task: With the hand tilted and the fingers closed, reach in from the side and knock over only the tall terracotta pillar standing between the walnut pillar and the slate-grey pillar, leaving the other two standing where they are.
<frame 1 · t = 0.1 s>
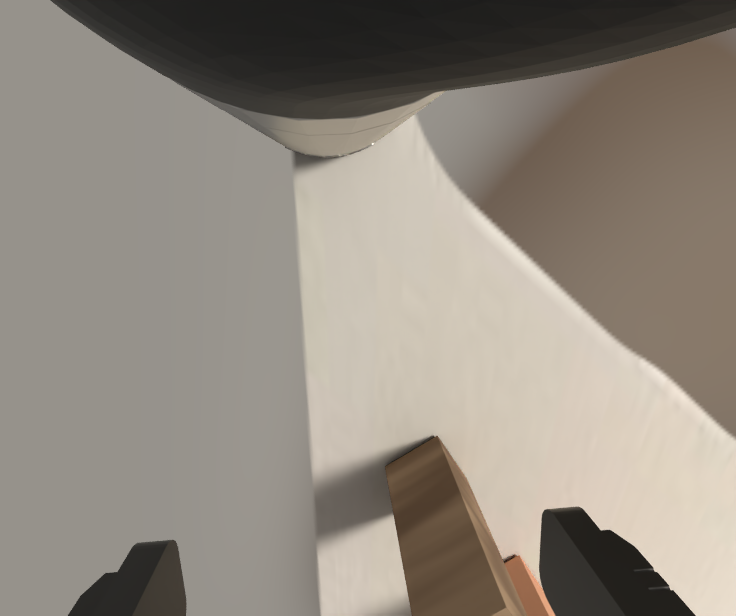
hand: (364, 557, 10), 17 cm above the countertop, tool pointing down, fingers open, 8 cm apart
walnut pillar: (426, 472, 30), on the countertop
terracotta pillar: (507, 585, 33), on the countertop
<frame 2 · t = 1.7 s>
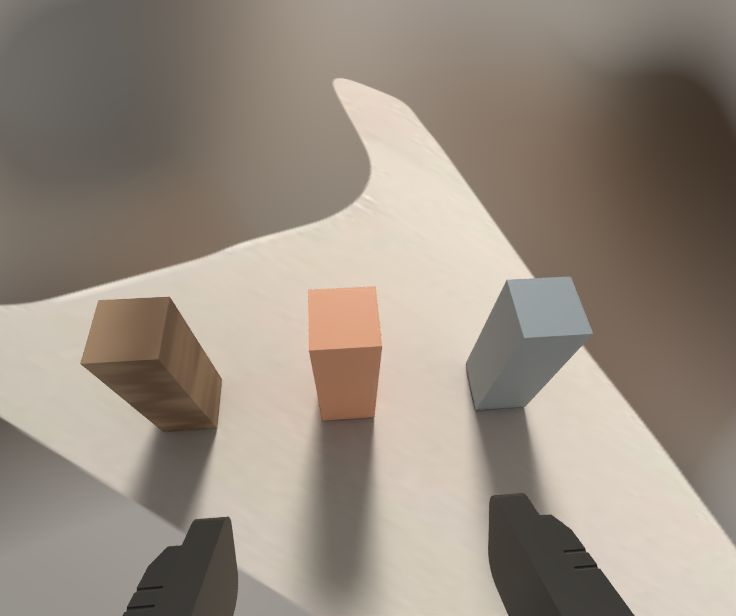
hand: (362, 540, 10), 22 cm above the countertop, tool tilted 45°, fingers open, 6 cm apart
walnut pillar: (193, 404, 35), on the countertop
terracotta pillar: (347, 394, 36), on the countertop
slate pillar: (494, 384, 37), on the countertop
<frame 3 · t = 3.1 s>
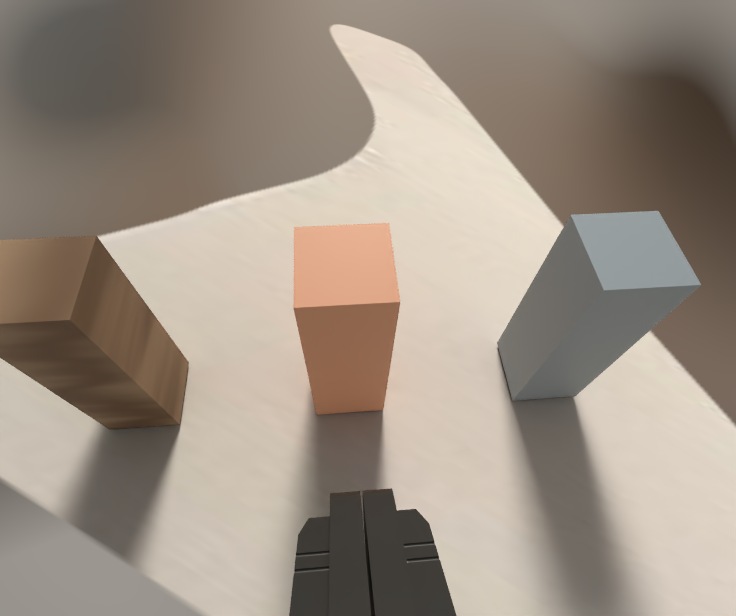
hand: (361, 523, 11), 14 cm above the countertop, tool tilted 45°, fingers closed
walnut pillar: (150, 394, 27), on the countertop
terracotta pillar: (348, 381, 28), on the countertop
slate pillar: (534, 368, 29), on the countertop
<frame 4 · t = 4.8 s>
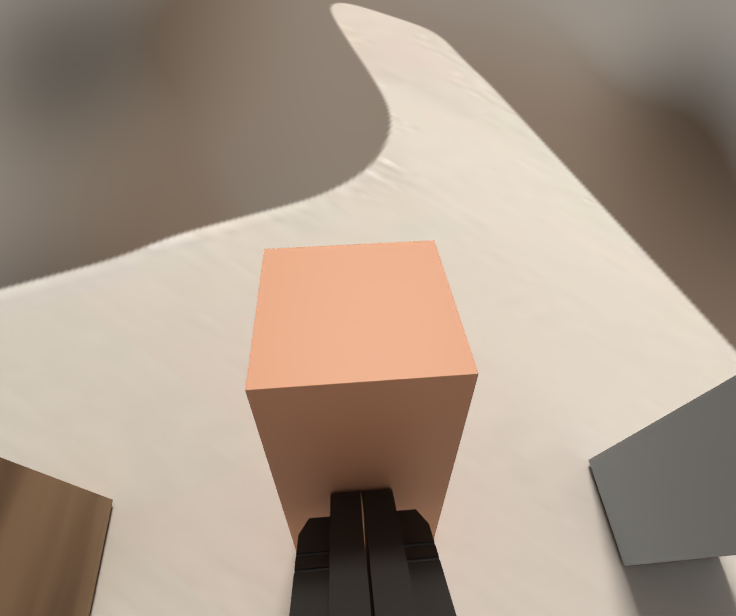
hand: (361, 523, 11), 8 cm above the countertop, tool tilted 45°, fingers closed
walnut pillar: (46, 560, 17), on the countertop
terracotta pillar: (361, 529, 17), on the countertop, tilted 14°
slate pillar: (652, 505, 19), on the countertop
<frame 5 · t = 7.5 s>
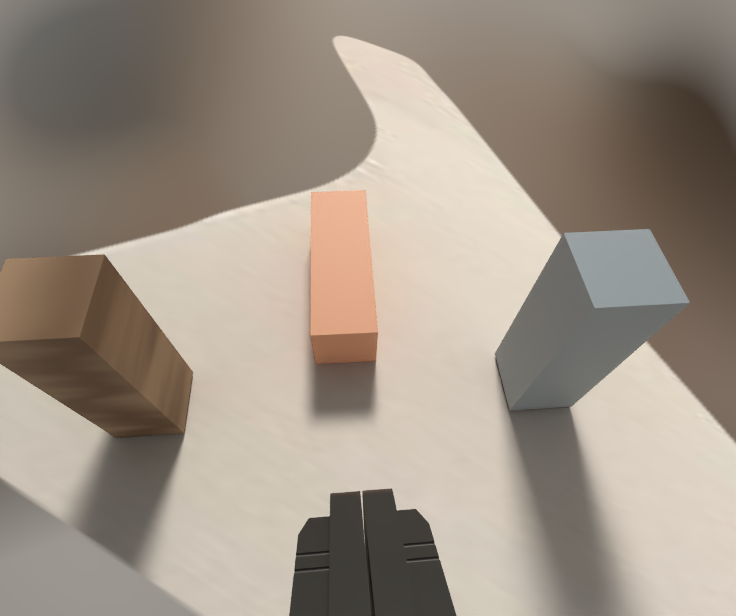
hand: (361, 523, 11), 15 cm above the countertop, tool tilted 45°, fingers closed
walnut pillar: (155, 403, 28), on the countertop
terracotta pillar: (345, 349, 28), point 2 cm above the countertop, tilted 90°
slate pillar: (531, 379, 29), on the countertop
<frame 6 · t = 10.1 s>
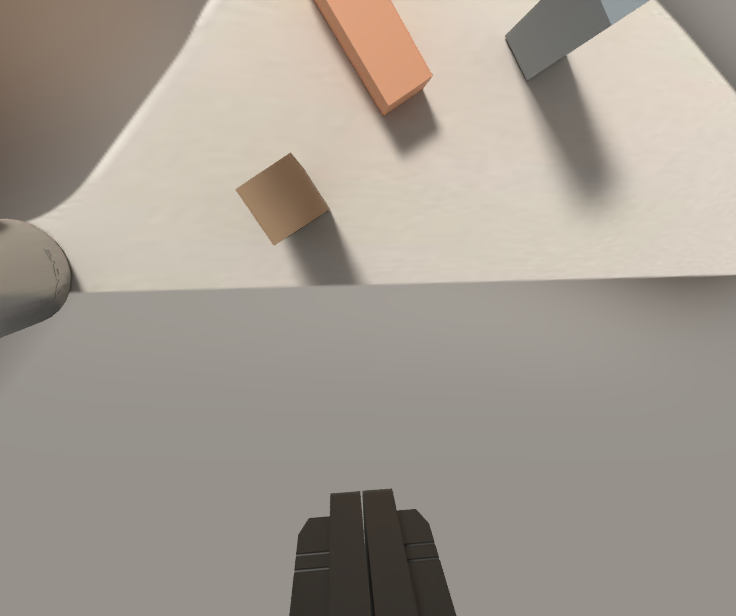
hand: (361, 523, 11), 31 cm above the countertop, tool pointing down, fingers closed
walnut pillar: (297, 201, 39), on the countertop
terracotta pillar: (406, 97, 36), point 2 cm above the countertop, tilted 90°
slate pillar: (536, 45, 38), on the countertop
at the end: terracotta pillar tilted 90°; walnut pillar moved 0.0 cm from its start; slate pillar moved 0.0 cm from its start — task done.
